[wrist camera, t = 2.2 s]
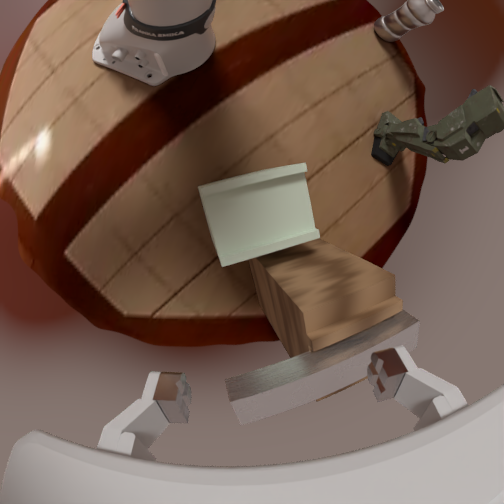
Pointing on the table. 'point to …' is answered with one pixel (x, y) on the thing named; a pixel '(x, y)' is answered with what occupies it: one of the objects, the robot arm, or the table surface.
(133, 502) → the robot arm
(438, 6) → the plastic bottle
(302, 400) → the link bar
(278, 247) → the shelf block
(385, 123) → the mechanical leg
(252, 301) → the table surface
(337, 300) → the wood grain block
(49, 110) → the table surface
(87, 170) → the table surface
